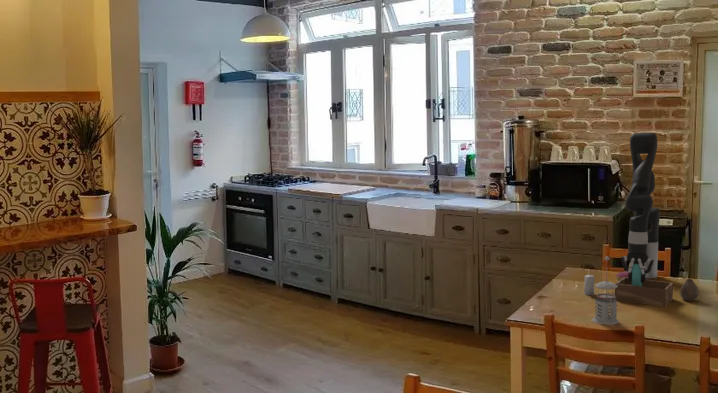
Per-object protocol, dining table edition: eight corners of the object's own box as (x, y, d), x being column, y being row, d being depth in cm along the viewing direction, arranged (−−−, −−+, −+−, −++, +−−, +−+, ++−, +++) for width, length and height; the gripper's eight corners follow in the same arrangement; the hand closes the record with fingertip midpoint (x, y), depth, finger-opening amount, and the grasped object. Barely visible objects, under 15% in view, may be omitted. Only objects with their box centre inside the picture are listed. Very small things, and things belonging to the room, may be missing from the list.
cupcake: (632, 284, 325) (633, 259, 324) (638, 289, 317) (638, 263, 315) (613, 284, 326) (613, 259, 325) (618, 289, 318) (618, 263, 316)
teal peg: (632, 289, 305) (633, 262, 303) (642, 291, 303) (643, 263, 301) (630, 291, 302) (631, 263, 300) (640, 293, 299) (641, 265, 298)
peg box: (623, 292, 312) (624, 276, 311) (672, 298, 301) (673, 282, 300) (614, 299, 301) (615, 283, 300) (664, 306, 289) (665, 290, 289)
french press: (613, 316, 278) (614, 253, 275) (625, 325, 266) (627, 260, 263) (588, 317, 277) (589, 254, 274) (599, 326, 266) (600, 260, 263)
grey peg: (586, 292, 314) (586, 274, 313) (595, 293, 312) (595, 275, 311) (583, 294, 311) (583, 276, 310) (592, 295, 308) (592, 277, 307)
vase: (700, 302, 295) (700, 281, 294) (682, 301, 296) (682, 281, 295) (695, 298, 302) (696, 277, 301) (678, 297, 303) (679, 277, 302)
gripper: (658, 241, 299) (656, 282, 301) (623, 238, 307) (621, 277, 309) (653, 244, 292) (652, 285, 295) (618, 241, 301) (616, 281, 303)
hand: (636, 281), depth 302 cm, fingers closed on teal peg, 4 cm apart
